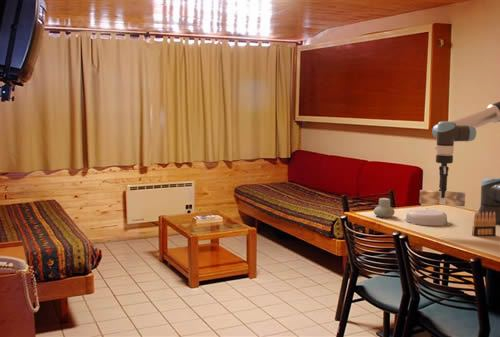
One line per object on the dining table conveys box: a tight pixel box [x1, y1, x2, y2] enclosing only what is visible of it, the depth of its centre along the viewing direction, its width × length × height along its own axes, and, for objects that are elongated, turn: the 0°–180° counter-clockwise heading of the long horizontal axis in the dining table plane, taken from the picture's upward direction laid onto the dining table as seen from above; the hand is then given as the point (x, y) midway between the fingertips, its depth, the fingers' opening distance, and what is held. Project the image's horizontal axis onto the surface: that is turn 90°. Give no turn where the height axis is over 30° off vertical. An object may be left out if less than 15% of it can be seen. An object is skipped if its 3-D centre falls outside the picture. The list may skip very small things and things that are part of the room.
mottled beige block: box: [419, 189, 466, 207], centre depth 258 cm, size 20×4×6 cm, turn 74°
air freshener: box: [373, 197, 395, 219], centre depth 297 cm, size 11×8×10 cm
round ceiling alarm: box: [403, 207, 450, 227], centre depth 285 cm, size 25×25×6 cm
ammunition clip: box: [471, 211, 497, 237], centre depth 255 cm, size 11×2×12 cm, turn 94°
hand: (442, 203), depth 259 cm, fingers closed on mottled beige block, 4 cm apart
